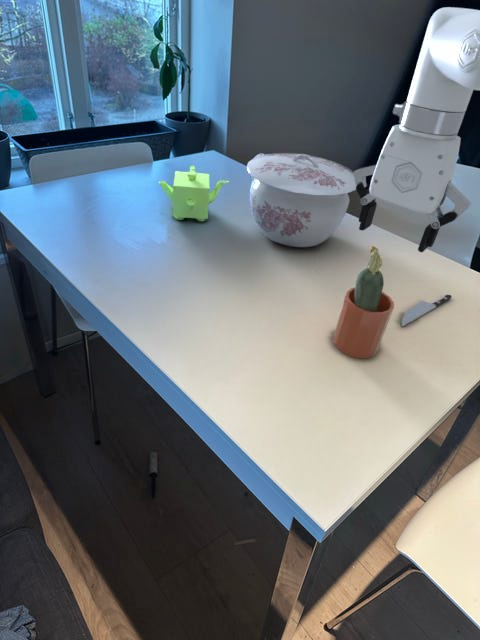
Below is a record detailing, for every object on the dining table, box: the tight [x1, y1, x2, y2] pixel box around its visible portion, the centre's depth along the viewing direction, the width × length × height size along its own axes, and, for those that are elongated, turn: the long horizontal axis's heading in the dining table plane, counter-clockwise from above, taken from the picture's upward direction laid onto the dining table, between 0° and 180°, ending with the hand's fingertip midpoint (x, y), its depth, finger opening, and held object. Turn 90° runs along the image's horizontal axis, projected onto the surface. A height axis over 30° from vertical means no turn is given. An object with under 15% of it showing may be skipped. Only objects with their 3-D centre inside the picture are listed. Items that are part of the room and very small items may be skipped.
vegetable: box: [354, 245, 385, 312], centre depth 76 cm, size 4×4×20 cm
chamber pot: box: [246, 152, 357, 248], centre depth 111 cm, size 28×28×21 cm
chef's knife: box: [401, 294, 453, 327], centre depth 94 cm, size 19×1×3 cm
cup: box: [332, 286, 395, 359], centre depth 80 cm, size 8×8×10 cm
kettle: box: [158, 164, 230, 222], centre depth 117 cm, size 15×14×11 cm
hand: (392, 238), depth 70 cm, fingers open, 9 cm apart
